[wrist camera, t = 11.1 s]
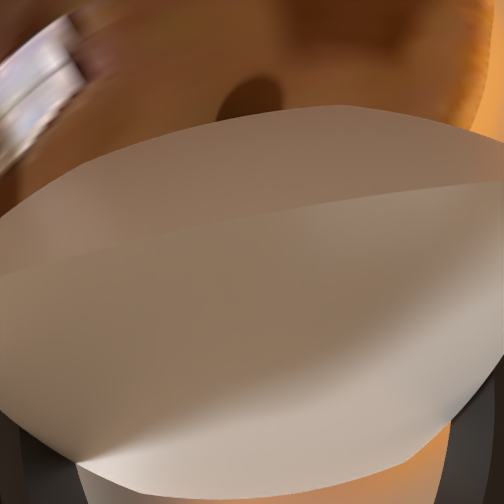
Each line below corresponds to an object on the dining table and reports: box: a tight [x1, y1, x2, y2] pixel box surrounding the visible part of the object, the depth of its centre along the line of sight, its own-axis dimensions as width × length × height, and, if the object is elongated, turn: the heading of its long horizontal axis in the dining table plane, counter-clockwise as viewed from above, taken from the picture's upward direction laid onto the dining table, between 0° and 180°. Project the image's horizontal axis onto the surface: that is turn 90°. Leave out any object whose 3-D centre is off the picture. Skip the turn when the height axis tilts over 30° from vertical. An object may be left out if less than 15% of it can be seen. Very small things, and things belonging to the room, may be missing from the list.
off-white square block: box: [0, 105, 504, 499], centre depth 8 cm, size 10×10×9 cm
